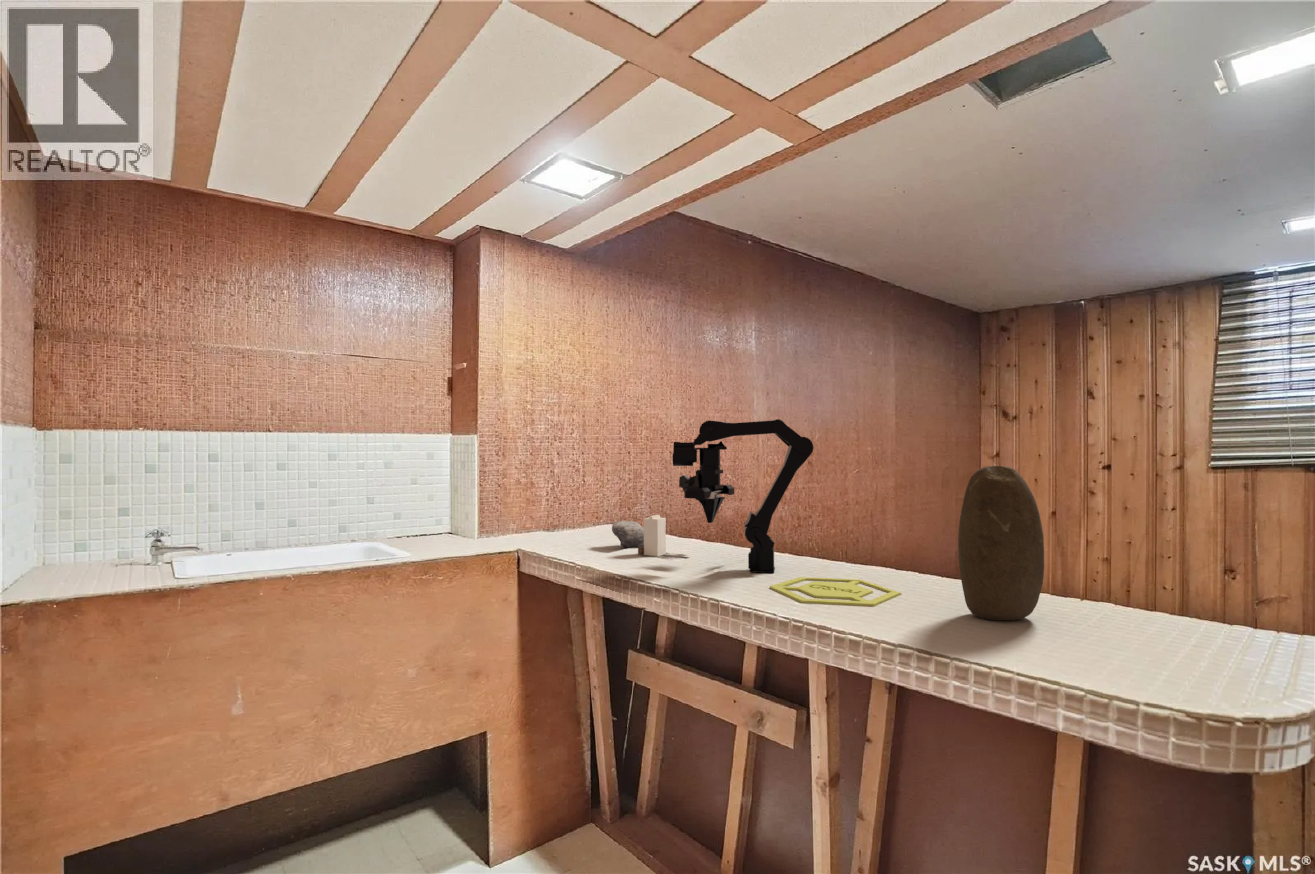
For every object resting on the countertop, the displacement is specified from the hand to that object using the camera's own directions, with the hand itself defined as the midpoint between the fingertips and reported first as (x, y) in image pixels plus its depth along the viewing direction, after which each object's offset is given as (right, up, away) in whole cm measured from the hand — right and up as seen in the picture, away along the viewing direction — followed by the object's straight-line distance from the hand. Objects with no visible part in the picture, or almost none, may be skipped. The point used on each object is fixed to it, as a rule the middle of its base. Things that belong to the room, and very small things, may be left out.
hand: (710, 522), depth 174 cm
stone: (+53, -12, -49) cm, 74 cm away
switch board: (-12, -13, +16) cm, 24 cm away
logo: (+27, -13, -26) cm, 40 cm away
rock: (-23, -14, +38) cm, 46 cm away
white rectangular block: (-15, -12, +18) cm, 26 cm away
